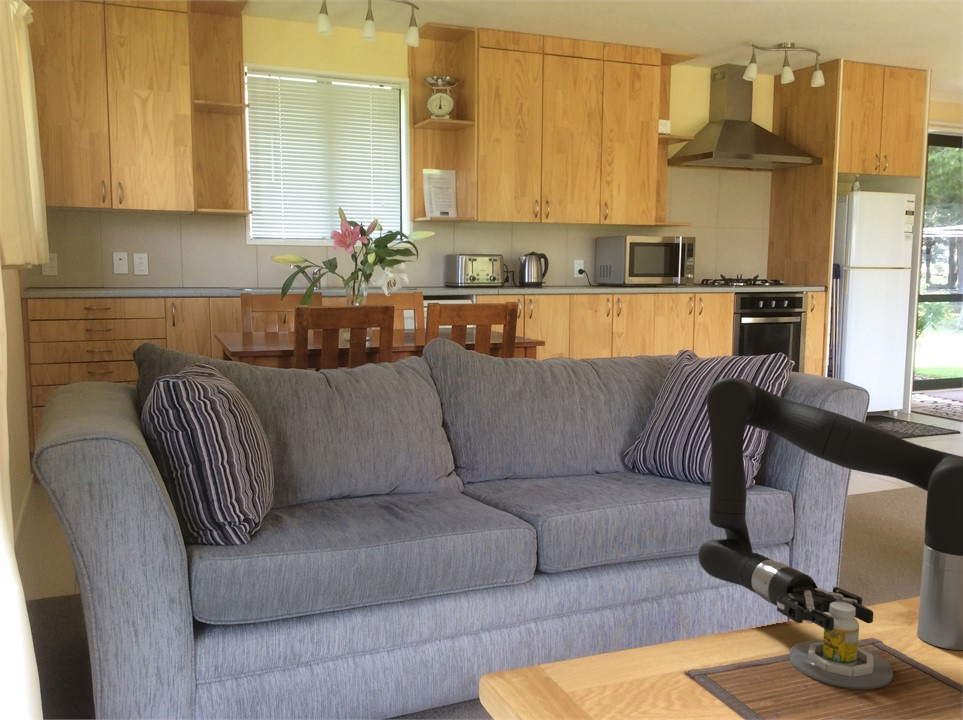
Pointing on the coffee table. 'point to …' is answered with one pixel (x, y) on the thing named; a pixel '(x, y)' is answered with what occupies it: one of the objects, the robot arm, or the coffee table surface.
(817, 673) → the ringed coaster
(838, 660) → the supplement bottle
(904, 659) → the coffee table surface
